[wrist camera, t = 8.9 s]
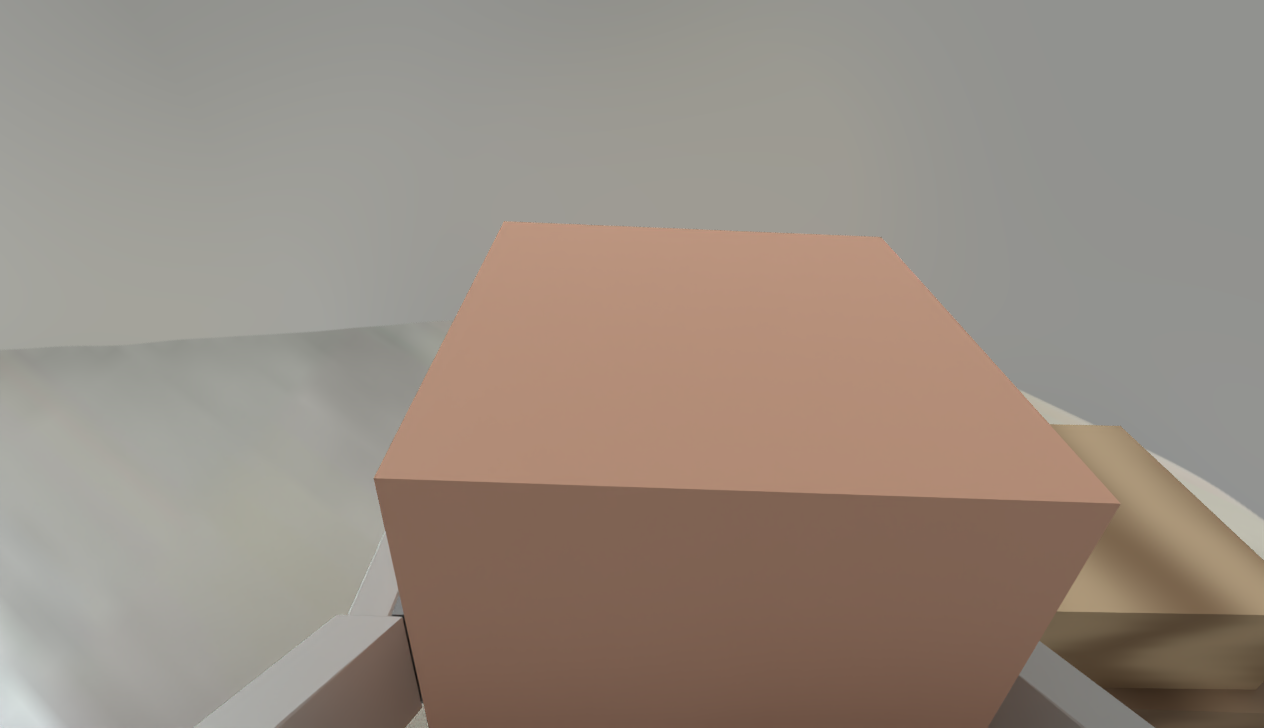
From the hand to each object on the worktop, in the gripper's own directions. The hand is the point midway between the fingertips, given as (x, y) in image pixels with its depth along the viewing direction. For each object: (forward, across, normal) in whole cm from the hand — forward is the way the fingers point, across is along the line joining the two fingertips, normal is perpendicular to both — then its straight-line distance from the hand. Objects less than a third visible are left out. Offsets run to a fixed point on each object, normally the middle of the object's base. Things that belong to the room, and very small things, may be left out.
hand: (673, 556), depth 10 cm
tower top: (+12, -17, +13) cm, 24 cm away
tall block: (-1, 0, +6) cm, 6 cm away
